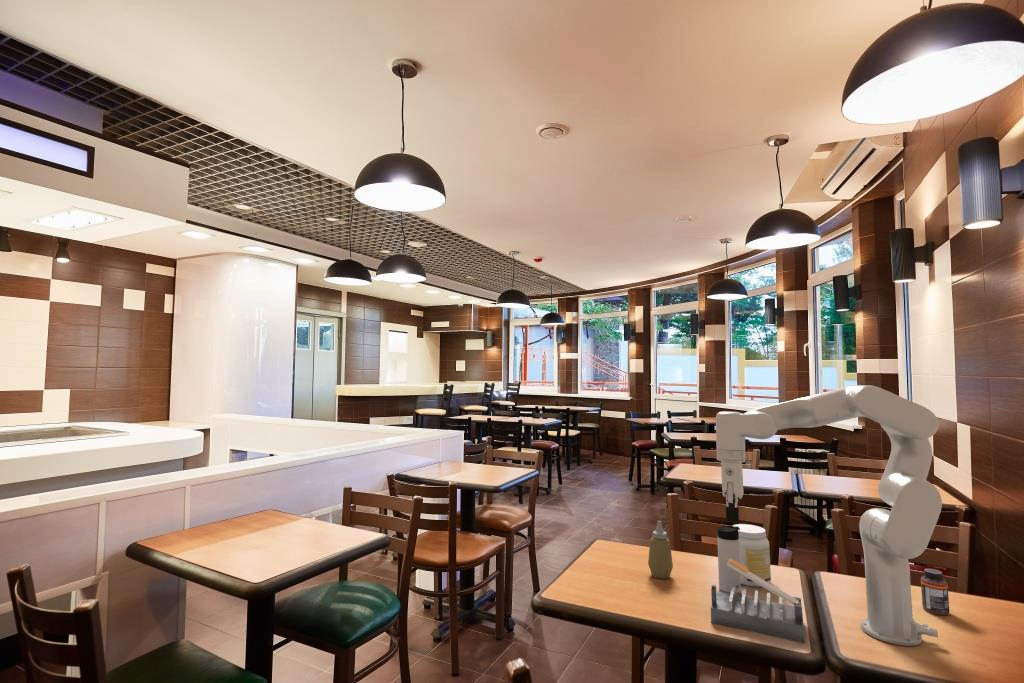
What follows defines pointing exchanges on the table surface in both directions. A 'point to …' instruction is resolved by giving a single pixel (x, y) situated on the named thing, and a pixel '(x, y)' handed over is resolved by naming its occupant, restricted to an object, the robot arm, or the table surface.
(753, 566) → the supplement tub
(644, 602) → the table surface
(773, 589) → the white orange stick
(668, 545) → the squeeze bottle
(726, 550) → the travel mug
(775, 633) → the heatsink block
